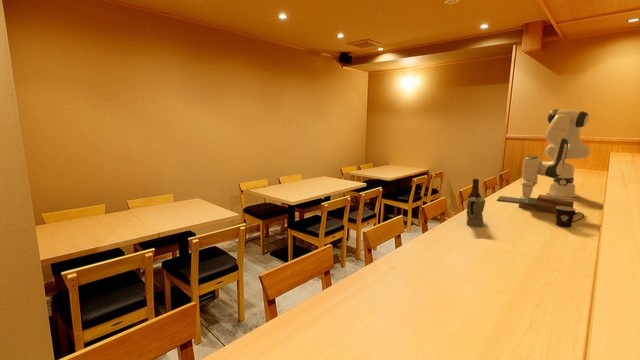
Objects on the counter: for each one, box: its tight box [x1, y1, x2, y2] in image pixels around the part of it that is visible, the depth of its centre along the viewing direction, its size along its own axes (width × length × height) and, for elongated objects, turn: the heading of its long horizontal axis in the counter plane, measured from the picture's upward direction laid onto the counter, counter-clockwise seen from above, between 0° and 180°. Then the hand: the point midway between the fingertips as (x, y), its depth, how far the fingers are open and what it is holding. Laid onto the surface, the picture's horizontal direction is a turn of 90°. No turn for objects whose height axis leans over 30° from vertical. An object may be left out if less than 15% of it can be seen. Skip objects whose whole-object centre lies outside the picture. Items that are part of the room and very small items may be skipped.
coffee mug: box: [555, 206, 585, 229], centre depth 169 cm, size 12×9×10 cm
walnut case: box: [518, 194, 575, 215], centre depth 199 cm, size 12×28×9 cm, turn 50°
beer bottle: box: [466, 178, 482, 218], centre depth 188 cm, size 8×8×24 cm
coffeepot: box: [466, 194, 486, 228], centre depth 175 cm, size 15×9×18 cm, turn 137°
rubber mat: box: [496, 195, 520, 204], centre depth 221 cm, size 12×26×1 cm, turn 50°
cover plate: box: [519, 196, 538, 204], centre depth 201 cm, size 6×20×2 cm, turn 51°
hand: (527, 201), depth 205 cm, fingers closed on cover plate, 6 cm apart
